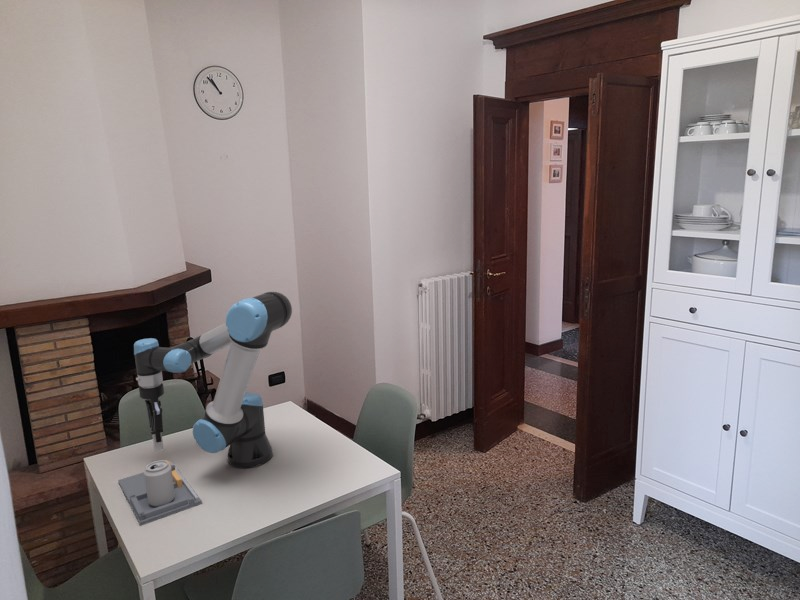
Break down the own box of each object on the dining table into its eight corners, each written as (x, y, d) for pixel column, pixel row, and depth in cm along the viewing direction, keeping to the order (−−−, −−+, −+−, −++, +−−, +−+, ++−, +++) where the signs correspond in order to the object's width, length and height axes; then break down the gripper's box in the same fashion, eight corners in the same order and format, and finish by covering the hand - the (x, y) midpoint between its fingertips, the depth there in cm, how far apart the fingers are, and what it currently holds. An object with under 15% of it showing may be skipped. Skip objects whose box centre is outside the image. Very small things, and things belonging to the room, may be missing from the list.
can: (153, 495, 174) (148, 459, 172) (178, 493, 175) (173, 457, 172) (144, 509, 167) (139, 471, 164) (171, 507, 167) (166, 469, 165)
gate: (183, 485, 179) (182, 475, 178) (176, 487, 178) (175, 478, 177) (168, 465, 193) (167, 456, 192) (162, 467, 191) (161, 458, 191)
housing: (202, 503, 170) (201, 496, 170) (140, 525, 160) (139, 517, 160) (173, 465, 195) (172, 459, 194) (118, 482, 185) (117, 475, 184)
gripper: (134, 381, 194) (142, 445, 199) (143, 392, 183) (152, 459, 188) (157, 377, 198) (165, 439, 203) (167, 387, 188) (175, 453, 193)
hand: (158, 449), depth 196 cm, fingers closed
